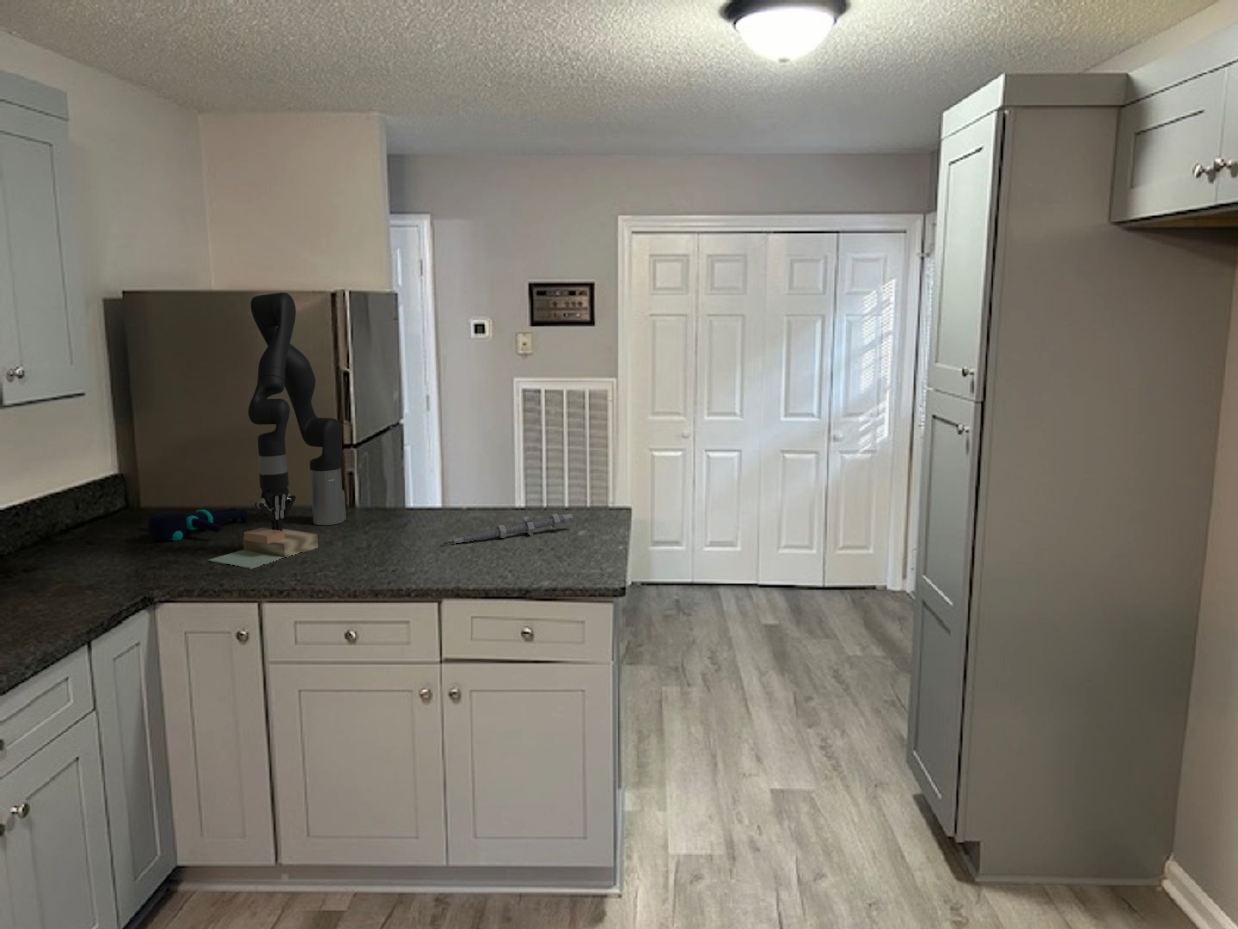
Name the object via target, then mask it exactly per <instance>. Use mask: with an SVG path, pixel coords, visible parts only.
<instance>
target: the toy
mask: <svg viewBox="0 0 1238 929" xmlns="http://www.w3.org/2000/svg"><path fill="white" fill-rule="evenodd" d="M247 513H248V512H247V511H246V510H245V509H238V510H237V509H236V507H233V508H224V509H218V510H212V511H210V510H206V509H197V510H196V511H195V512H190V513H185V512H183V511H180V510H179V511H178V510H167V511H164V512H159V513H153V514H152V515H151V516H150V518H149V519H148V523H147V524H148V525H147V526H148V533H149V536H150V537H152V538H153V539H155V540H165V539H166V541H171V540H173V541H172V542H178V541H177V540H180V541H181V540H182V539H183V537H186V536H187V531H188V530H191V531H194V530H197V529H202V530H207V531H210V532H211V531H212V532H213V533H219V532H220V531H222V529H223V528H222V525H220V524H218V523H219V522H224V521H227V520H231V521H233V522H238V519H239V518H240V521H241V522H243V524H244V523H245V524H246V523H247V522H248V514H247Z"/></svg>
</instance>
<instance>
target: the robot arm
mask: <svg viewBox="0 0 1238 929" xmlns="http://www.w3.org/2000/svg"><path fill="white" fill-rule="evenodd" d="M250 311H251V315H252V319H253V320H254V323H255V324H256V327H257V328H258V331H259V333H260V334H261V336H262V338H263V340H264V341H265V344H266V345H267V347H266V349H265V350H264V352H263V353H262V355H261V356H260V360H259V362H258V368H257V370H258V371H257V381H256V382H257V383H256V387H255V390H254V393H253V395H252V398H251V399H250V403H249V405H248V410H247V414H248V419H249V420H250V422H251V423H252V424H254V425H257V426H259V425H260V426H262V425H275V428H274V429H273V430H271V431H270V432H269V431H268V432H265V433H261V434H259V435H258V437H257V450H258V451H257V452H258V477H259V478H258V479H259V487H260V489H261V494H260V500H258V502H254V507H255V508H256V510H258V511H259V513H260V514H261V515H262V516H263V518H265V519H269V520H270V523H271V524H270V525H271V529H273V530H279V531H282V529H284V521H283V520H284V517H285V516H287V515H289V513H290V512H291V509H292V507H293V504H294V503H295V501H296V499H297V496H296V495H293V494H291V493H290V492H289V488H288V487H289V485H290V483H289V482H290V480H289V466H288V458H287V450H286V449H287V448H286V433H287V426H288V422H289V419H290V414H291V408H290V404H289V403H288V402H287V400H285V399H284V398H269V397H271V396H275V395H279V394H281V393H282V392H284V390H286V392H287V395H288V398H289V401H290V403H291V406H292V409H293V411H294V412H293V413H294V414H295V419H296V421H297V425H298V427H299V432H300V434H301V437H302V440H303V441H304V443H305V444H306V445H307V446H309V447H314V448H321V450H322V451H321V455H320V456H318V457H315V458H312V459H311V460H310V461H309V475H310V490H311V491H310V492H311V505H312V506H311V507H312V508H311V509H312V521H313V524H314V525H318V526H331V525H337V524H342V523H344V521H346V520H347V513H346V511H347V510H346V496H345V491H344V489H343V486H342V485H343V484H342V468H341V467H342V465H341V463H342V458H343V430H342V426H341V423H340V422H339V420H338V419H337V418H332V417H318V416H317V414H316V413H315V410H314V408H313V404H312V400H313V399H312V398H313V395H314V393H315V388H316V383H317V382H316V376H315V374H314V371H313V368H312V366H311V363H310V361H309V359H308V358H307V357H306V355H305V354H303V352H302V351H300V350H299V349H297V348H296V347H295V346H294V345H293V344H291V340H292V336H293V332H294V327H295V322H296V315H297V314H296V311H297V308H296V303H295V301H294V299H293V297H292V295H290V294H289V293H287V292H275V293H268V294H266V293H265V294H260V295H255V296H254V297H252V298H251V300H250Z"/></svg>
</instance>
